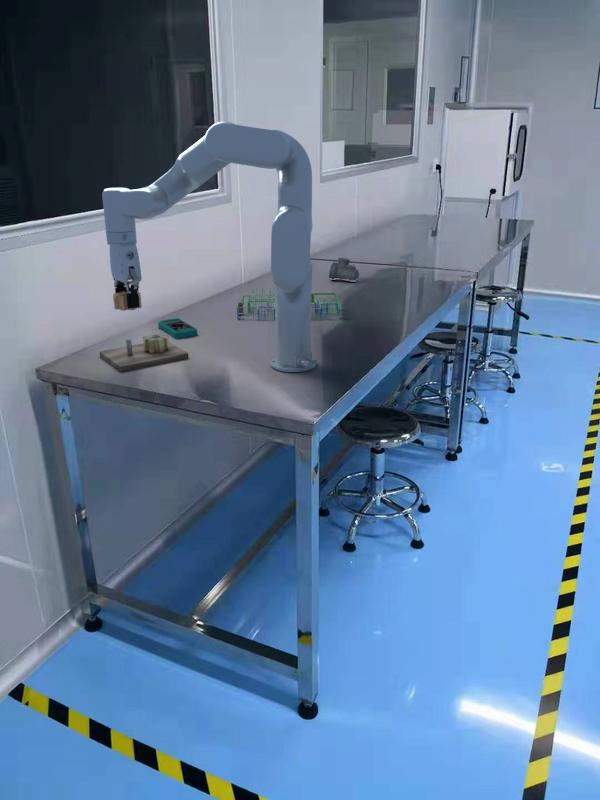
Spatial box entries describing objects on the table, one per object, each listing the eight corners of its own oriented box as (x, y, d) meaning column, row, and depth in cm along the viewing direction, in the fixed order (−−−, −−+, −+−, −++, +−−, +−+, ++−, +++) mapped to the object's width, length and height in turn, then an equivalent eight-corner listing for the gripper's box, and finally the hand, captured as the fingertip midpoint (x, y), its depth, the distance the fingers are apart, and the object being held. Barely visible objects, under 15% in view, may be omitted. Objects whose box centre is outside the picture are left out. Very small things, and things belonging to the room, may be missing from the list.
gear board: (188, 358, 183) (187, 337, 181) (120, 372, 172) (118, 350, 170) (164, 344, 195) (163, 325, 193) (100, 356, 184) (97, 336, 182)
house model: (237, 321, 220) (236, 308, 219) (242, 301, 248) (241, 288, 246) (339, 321, 221) (339, 307, 219) (333, 300, 249) (333, 288, 247)
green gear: (173, 349, 184) (172, 337, 183) (149, 354, 181) (148, 342, 179) (163, 343, 190) (162, 331, 188) (139, 347, 186) (138, 335, 185)
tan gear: (145, 308, 174) (144, 295, 173) (120, 311, 170) (118, 298, 169) (135, 302, 179) (134, 290, 178) (110, 306, 175) (108, 293, 174)
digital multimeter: (176, 341, 200) (175, 331, 199) (157, 329, 212) (157, 320, 211) (198, 337, 204) (198, 327, 203) (179, 325, 216) (178, 316, 215)
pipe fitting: (326, 281, 277) (330, 257, 274) (333, 279, 284) (337, 255, 281) (352, 287, 273) (356, 262, 269) (358, 284, 280) (362, 261, 276)
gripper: (148, 240, 163) (154, 309, 170) (122, 232, 176) (128, 296, 183) (120, 243, 159) (127, 313, 166) (95, 234, 172) (102, 300, 179)
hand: (127, 304), depth 174 cm, fingers closed on tan gear, 7 cm apart
